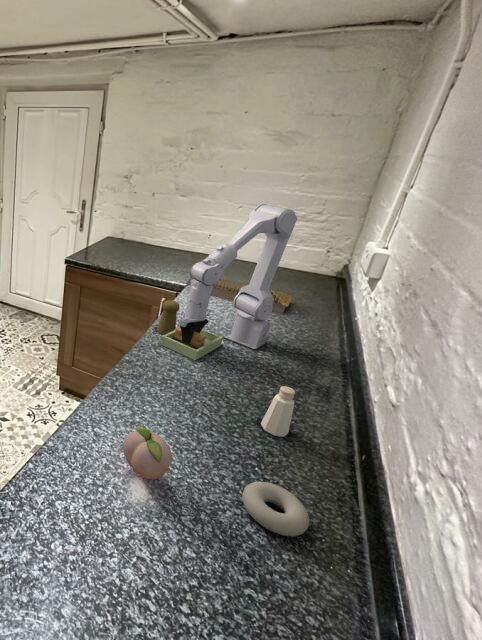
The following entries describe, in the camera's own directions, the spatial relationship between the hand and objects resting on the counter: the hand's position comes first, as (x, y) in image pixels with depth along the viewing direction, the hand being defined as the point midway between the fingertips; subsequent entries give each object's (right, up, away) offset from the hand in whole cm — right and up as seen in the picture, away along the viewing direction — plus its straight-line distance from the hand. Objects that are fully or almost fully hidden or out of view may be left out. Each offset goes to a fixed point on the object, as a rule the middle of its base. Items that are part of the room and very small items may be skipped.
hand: (189, 340), depth 125 cm
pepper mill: (-3, +2, +10) cm, 11 cm away
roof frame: (+40, +13, +41) cm, 59 cm away
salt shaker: (+4, -16, -34) cm, 37 cm away
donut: (-11, -24, -54) cm, 60 cm away
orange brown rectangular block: (0, -1, +1) cm, 2 cm away
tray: (+1, -2, +2) cm, 3 cm away
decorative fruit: (-31, -20, -46) cm, 60 cm away
